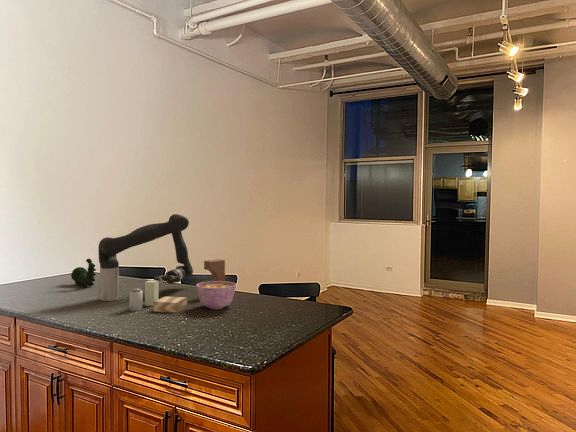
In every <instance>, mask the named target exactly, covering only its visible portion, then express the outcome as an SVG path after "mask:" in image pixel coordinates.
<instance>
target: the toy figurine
mask: <svg viewBox="0 0 576 432" xmlns="http://www.w3.org/2000/svg"><path fill="white" fill-rule="evenodd" d="M85 261H86V263H87V264H88V265H87V269H86V267H85V268H84V267H81V266H80V267H76V268H74V269H73V270H72V272H71V280H73V281H74V284H75V285H76V286H80V287H81V288H84V287H88V286H89V287H93V286H94V285H95V281H96V279H95V276H96V275H97V273H95V271H96V270H97V269H96V268H95V267H96V264H95V263H93V261H92V259H91V258H87V259H86V260H85Z"/></svg>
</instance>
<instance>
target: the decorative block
mask: <svg viewBox="0 0 576 432" xmlns="http://www.w3.org/2000/svg"><path fill="white" fill-rule="evenodd" d="M203 269H204V270H206V271H208V272H210V274H211V281H226V279H225V278H226V261H225V259H218V258H217V259H209V260H204V261H203Z"/></svg>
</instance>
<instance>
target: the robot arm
mask: <svg viewBox="0 0 576 432" xmlns="http://www.w3.org/2000/svg"><path fill="white" fill-rule="evenodd" d="M189 225H190V221H189V219H188V217H186V216H185V215H182V214H178V213H177V214H176V213H175V214H172V215H170V217H169V218H168V221H166V222H160V223H159V222H158V223H151V224H147V225H143V226H140V227H139V228H136V229H134V230H133V231H131V232H130V233H128V234H125V235H122V236H118V237H107V236H106V237H103V238H102V239H101V240H100V241H99V242H98V263H99V267H100V269H99V274H100V275H99V277H100V278H99V280H100V281H99V282H98V285H97V286H98V289H97V290H98V301H102V302H113V301H118V300H119V299H120V298H119V296H120V293H119V291H120V284H119V283H120V281H119V280H120V279H119V278H120V276H119V275H120V271H119V270H120V267H119V266H120V263H119V261H118V259H117V255H118V254H119V253H122V252H124V251H126V250H128V249H130V248H133V247H137V246H139V245H143V244H146V243H149V242H152V241H155V240H158V239H159V238H162V237H165V236H168V235H171V236H172V240H173V245H174V249H175V257H176V258H175V259H176V262H177V263H178V264H181V265H177V266H176V267H175V268H173V269H171V270H168V271H167V272H166V273H165V274H164V275H156V276H154V277H153V280H155V281H159V283H168V284H170V285H172V284H173V285H174V284H176V283H179V282H181V281H182V279H184V278H191V277H192V276H193V273H194V268H193V266H192V264H191V261H190V258H189V250H188V247H187V244H186V242H185V240H184V237H183V234H182V231H185V230H186V229H187V228H188V227H189Z"/></svg>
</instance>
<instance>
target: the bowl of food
mask: <svg viewBox="0 0 576 432" xmlns="http://www.w3.org/2000/svg"><path fill="white" fill-rule="evenodd" d="M195 286H196V291H197V295H198V299H199V302H200V304H201V305H203V306H204V307H207V308H208V309H210V310H221V309H224V308H225V307H227V306H228V305H230V304H231V303H232V301H233V300H234V299H233V298H234V295H235V291H236V288H237V283H235V282H233V281H228V280H227V281H226V280H225V281H212V280H211V281H202V282H198V283H197V284H195Z"/></svg>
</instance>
